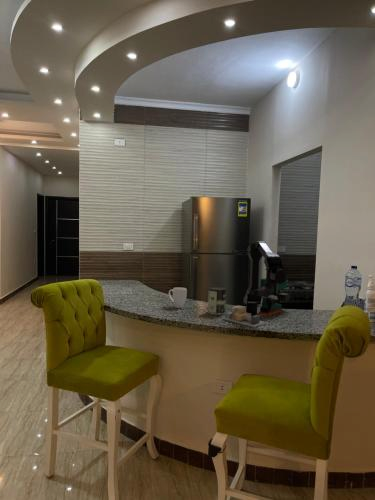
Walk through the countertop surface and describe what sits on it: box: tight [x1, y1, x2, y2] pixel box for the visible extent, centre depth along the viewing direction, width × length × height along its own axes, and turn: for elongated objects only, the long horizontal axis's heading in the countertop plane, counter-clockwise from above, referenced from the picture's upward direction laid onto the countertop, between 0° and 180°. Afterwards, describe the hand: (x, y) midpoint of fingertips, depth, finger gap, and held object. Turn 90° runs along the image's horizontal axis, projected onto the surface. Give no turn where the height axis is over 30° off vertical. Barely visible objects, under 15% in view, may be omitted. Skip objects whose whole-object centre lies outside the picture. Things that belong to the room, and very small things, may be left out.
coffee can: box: [207, 286, 228, 316], centre depth 209 cm, size 10×10×14 cm
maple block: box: [231, 305, 246, 319], centre depth 194 cm, size 4×6×6 cm, turn 134°
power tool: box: [258, 276, 289, 316], centre depth 222 cm, size 32×7×20 cm, turn 141°
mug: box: [168, 286, 188, 309], centre depth 222 cm, size 12×8×11 cm
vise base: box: [222, 311, 266, 328], centre depth 191 cm, size 10×20×4 cm, turn 44°
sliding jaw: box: [236, 312, 261, 323], centre depth 189 cm, size 9×10×3 cm
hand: (270, 311), depth 182 cm, fingers closed
